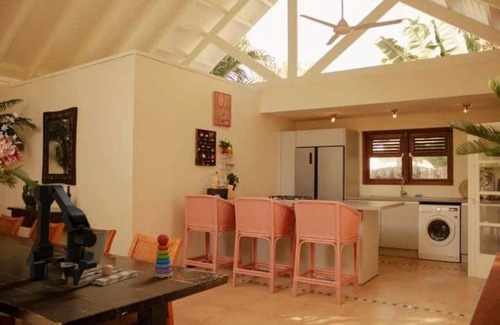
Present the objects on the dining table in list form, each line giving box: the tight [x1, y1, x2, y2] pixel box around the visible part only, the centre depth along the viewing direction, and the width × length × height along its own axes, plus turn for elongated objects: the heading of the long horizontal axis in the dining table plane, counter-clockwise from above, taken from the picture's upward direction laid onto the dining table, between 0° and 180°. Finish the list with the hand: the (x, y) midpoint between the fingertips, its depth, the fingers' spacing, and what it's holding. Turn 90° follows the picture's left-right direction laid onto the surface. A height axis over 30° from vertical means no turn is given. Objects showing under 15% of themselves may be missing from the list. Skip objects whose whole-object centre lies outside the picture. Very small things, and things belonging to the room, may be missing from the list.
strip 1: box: [64, 267, 102, 280], centre depth 184 cm, size 22×3×4 cm, turn 154°
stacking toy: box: [153, 233, 173, 279], centre depth 187 cm, size 8×8×19 cm
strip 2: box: [67, 273, 115, 289], centre depth 172 cm, size 22×3×4 cm, turn 154°
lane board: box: [61, 265, 139, 287], centre depth 182 cm, size 22×24×2 cm
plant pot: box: [82, 229, 110, 264], centre depth 213 cm, size 15×15×16 cm
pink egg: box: [101, 264, 114, 275], centre depth 179 cm, size 4×4×4 cm
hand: (73, 285), depth 163 cm, fingers closed on strip 2, 3 cm apart
